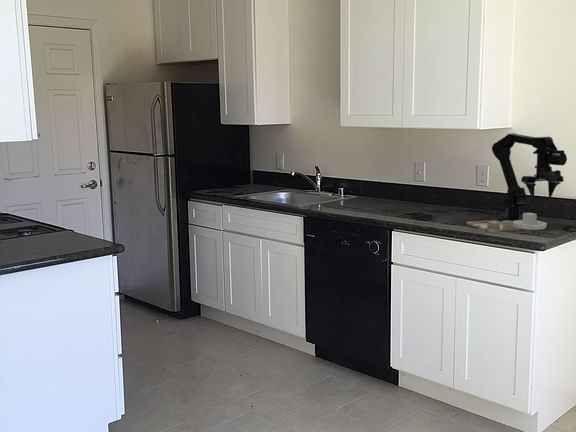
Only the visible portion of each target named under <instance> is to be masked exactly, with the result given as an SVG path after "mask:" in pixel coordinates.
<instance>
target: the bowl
mask: <svg viewBox="0 0 576 432" xmlns="http://www.w3.org/2000/svg"><path fill="white" fill-rule="evenodd" d="M512 222H513V226H515V227H518V228H520V230H525V231H526V230H528V231H529V230H530V231H534V230H535V231H538V230H545V229H546V228H547V225H548V224H547V222H544V221H541V220H536V225H523V224H522V223H523V219H522V220H513V221H512Z"/></svg>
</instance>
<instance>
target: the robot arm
mask: <svg viewBox="0 0 576 432" xmlns="http://www.w3.org/2000/svg"><path fill="white" fill-rule="evenodd" d="M515 143H518V144H522V145H528V146H532V147H533V148H534V149H535V150H534V151H533V152H532V154H534V155H536V165H535V166H534V168H535V170H536V171H535V172H536V173H535V174H534V176H532V175H523V176H522V177H521V179H520V180H521V181H520V182H521V183H523V185H525V186H526V188H527V190H528V192H529V194H530V197H531V198H533V199H534V197H535V187H536V185H537V183H536V182H543V181H544V182H546V181H547V186H548V189H547V190H548V191H547V192H548V197H549V198H552V196H553V193H554V191H555V189H556V187H557V186H558V185H560V184H561V183H563V182H564V177H563V175H561V174H562V173H561V170H559V169H556V170H553V168H552V166H565V164H566V163H567V160H568V157H567V155H566V153H565V150H561V149H560V150H559V149H558V147H557V146H556V144H555V143H554V140H553V137H551V136H537V137H536V136H529V135H523V134H517V133H516V132H514V133H513V132H512V133H508V134H506V135H505V136H504V137H503V138H500V139H499V140H498V141H496V142H494V143H493V145H492V146H491V151H492V154H493V155H494V157H495V158H496V159H497V160H498V161H499V164H500V167H501V171H502V173H503V177H504V180H505V183H506V186H507V192H506V197H507V198H506V199H504V201H502V207H503V208H506V211H505V212H506V213H505V214H506V216H505V218H506V219H507V220H508V219H509V220H513V221H515V220H523V218H520V208H521V207H523V206H524V204H525V202H526V200H527V193H526V190H525V187H520V185H519V182H518V180H517V177H516V174H515V170H514V167H513V164H512V161H511V153H512V152H511V151H512V150H511V149H512V148H513V147H514V145H515ZM551 165H552V166H551Z"/></svg>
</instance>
